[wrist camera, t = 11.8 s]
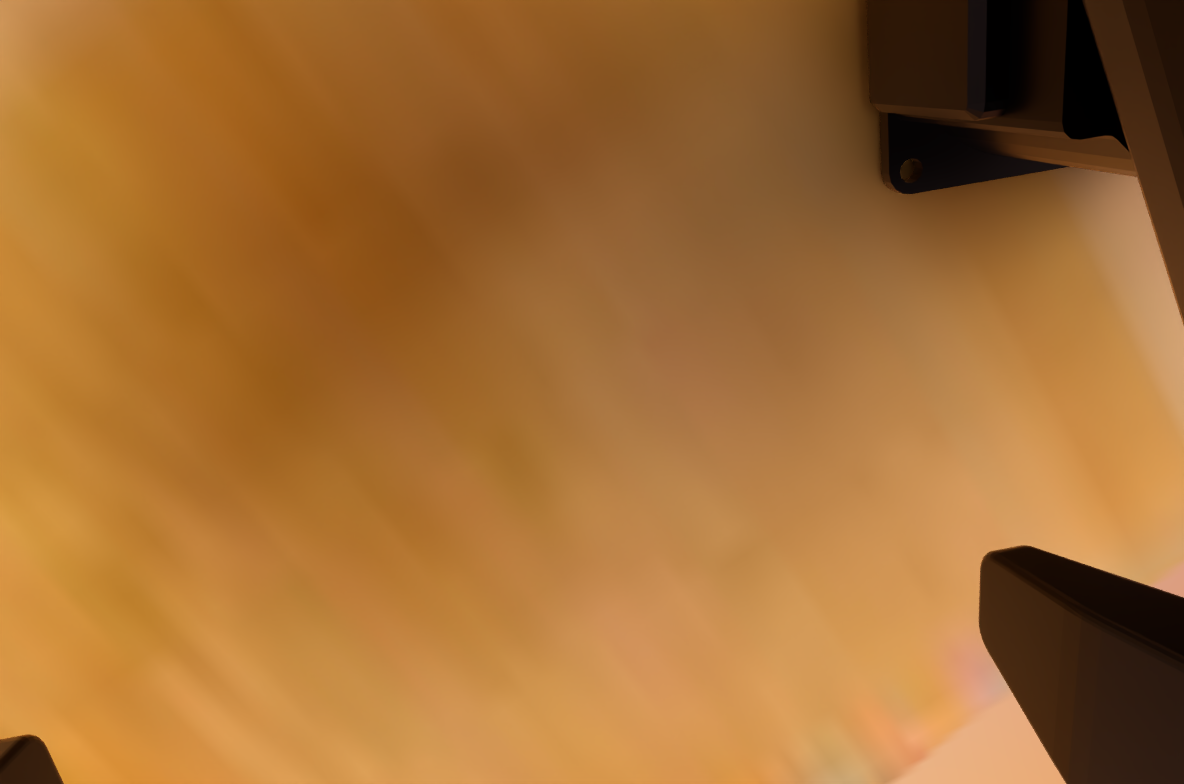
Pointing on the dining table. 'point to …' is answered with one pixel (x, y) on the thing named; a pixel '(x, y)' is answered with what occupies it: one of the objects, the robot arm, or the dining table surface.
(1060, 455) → the dining table surface
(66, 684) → the dining table surface
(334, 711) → the dining table surface
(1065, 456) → the dining table surface
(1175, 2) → the robot arm
